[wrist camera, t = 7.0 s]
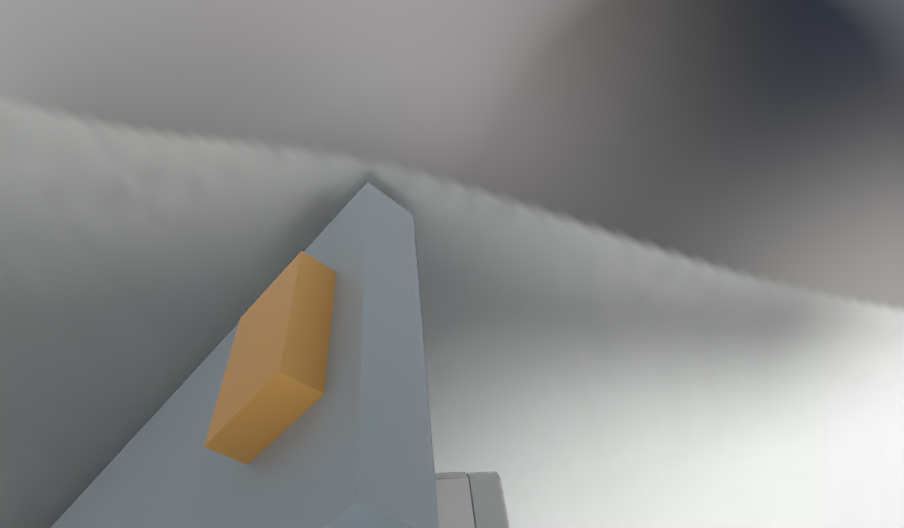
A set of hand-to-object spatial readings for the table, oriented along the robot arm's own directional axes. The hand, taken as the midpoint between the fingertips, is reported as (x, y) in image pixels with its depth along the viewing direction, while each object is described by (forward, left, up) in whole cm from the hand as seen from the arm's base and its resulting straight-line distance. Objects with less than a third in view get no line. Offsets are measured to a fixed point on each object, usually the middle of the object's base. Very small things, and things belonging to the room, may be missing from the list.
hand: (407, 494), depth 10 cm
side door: (-7, -3, -3) cm, 8 cm away
